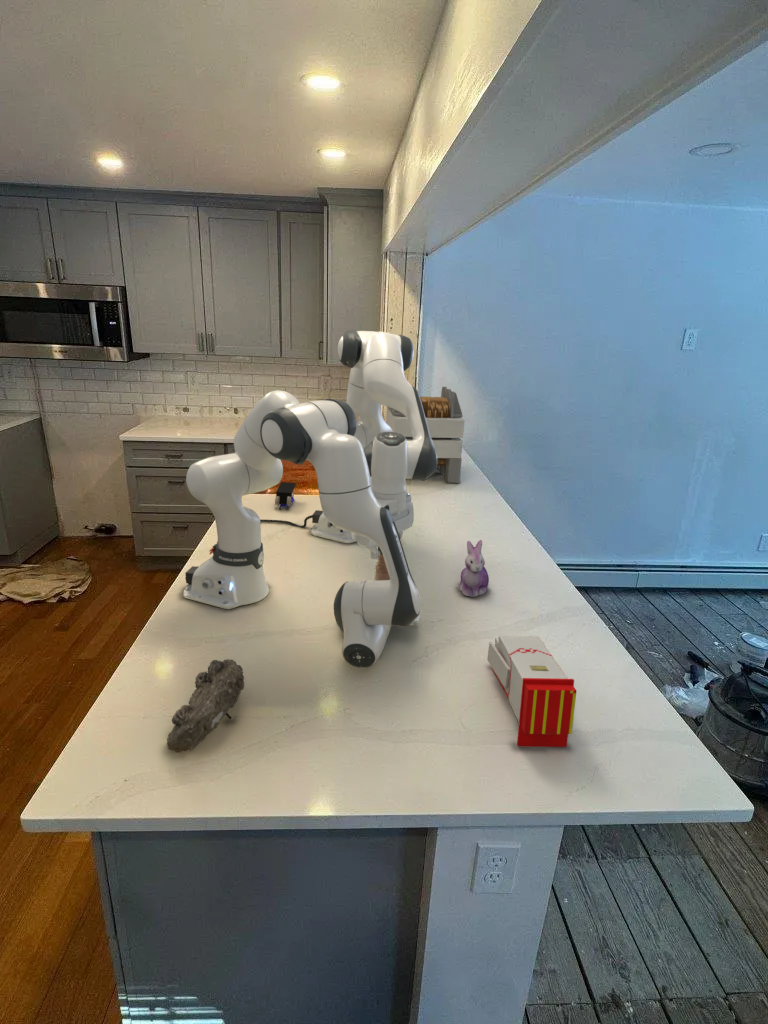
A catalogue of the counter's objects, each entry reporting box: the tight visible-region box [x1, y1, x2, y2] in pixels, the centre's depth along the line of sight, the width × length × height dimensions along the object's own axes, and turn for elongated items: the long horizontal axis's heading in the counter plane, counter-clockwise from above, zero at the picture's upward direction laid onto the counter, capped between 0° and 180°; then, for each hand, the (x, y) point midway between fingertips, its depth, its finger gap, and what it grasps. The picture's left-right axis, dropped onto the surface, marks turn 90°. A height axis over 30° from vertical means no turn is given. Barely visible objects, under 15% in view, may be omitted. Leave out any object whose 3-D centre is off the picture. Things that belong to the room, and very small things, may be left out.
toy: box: [486, 635, 577, 748], centre depth 115 cm, size 12×13×30 cm
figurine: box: [459, 539, 490, 598], centre depth 159 cm, size 9×10×15 cm
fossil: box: [166, 658, 245, 754], centre depth 106 cm, size 22×10×15 cm
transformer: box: [385, 386, 465, 484], centre depth 268 cm, size 34×33×41 cm
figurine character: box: [274, 481, 297, 510], centre depth 222 cm, size 7×8×15 cm
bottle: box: [373, 554, 390, 581], centre depth 145 cm, size 5×5×19 cm
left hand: (384, 592), depth 147 cm, fingers closed on bottle, 5 cm apart
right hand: (385, 552), depth 142 cm, fingers open, 7 cm apart
